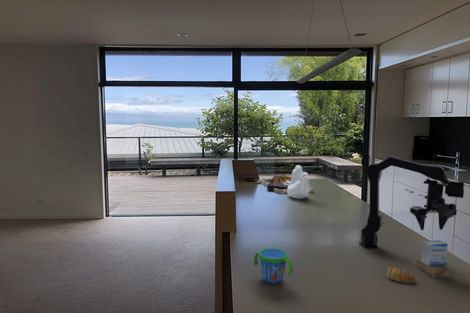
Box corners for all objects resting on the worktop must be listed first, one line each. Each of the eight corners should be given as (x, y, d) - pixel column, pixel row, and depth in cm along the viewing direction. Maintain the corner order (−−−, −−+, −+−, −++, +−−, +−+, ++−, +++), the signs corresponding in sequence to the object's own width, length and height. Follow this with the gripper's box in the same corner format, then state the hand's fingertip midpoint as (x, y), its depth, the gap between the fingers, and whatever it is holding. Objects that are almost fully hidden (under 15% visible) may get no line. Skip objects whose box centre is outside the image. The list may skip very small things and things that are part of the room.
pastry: (415, 279, 131) (415, 269, 131) (413, 286, 126) (414, 276, 125) (388, 273, 136) (389, 263, 136) (385, 279, 130) (386, 270, 130)
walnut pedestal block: (433, 278, 132) (434, 269, 132) (416, 267, 142) (417, 258, 142) (449, 278, 133) (450, 268, 133) (431, 267, 143) (432, 257, 143)
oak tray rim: (276, 193, 277) (277, 190, 276) (258, 182, 327) (259, 178, 327) (314, 192, 283) (314, 189, 283) (290, 181, 334) (290, 178, 334)
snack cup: (247, 277, 129) (247, 251, 128) (264, 268, 137) (265, 244, 136) (281, 292, 119) (282, 263, 118) (298, 282, 126) (299, 255, 125)
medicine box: (429, 266, 134) (430, 244, 133) (420, 261, 139) (422, 240, 138) (446, 264, 136) (448, 243, 135) (437, 260, 140) (439, 239, 139)
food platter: (297, 193, 281) (298, 180, 280) (267, 190, 286) (268, 178, 285) (299, 182, 324) (300, 171, 323) (273, 180, 330) (274, 169, 328)
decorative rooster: (285, 194, 274) (286, 163, 271) (304, 195, 274) (306, 164, 272) (291, 202, 249) (293, 168, 246) (313, 202, 249) (314, 168, 247)
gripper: (429, 199, 139) (425, 236, 141) (469, 198, 142) (465, 235, 144) (410, 193, 150) (407, 228, 152) (448, 193, 153) (444, 227, 155)
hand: (431, 229), depth 150 cm, fingers open, 9 cm apart
